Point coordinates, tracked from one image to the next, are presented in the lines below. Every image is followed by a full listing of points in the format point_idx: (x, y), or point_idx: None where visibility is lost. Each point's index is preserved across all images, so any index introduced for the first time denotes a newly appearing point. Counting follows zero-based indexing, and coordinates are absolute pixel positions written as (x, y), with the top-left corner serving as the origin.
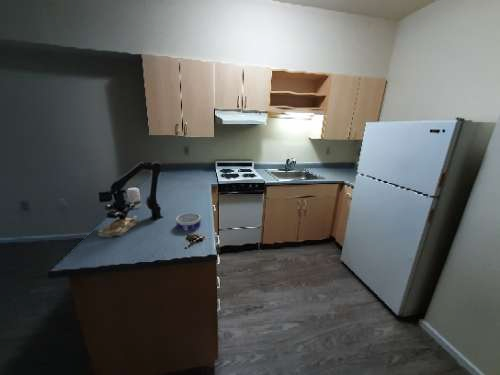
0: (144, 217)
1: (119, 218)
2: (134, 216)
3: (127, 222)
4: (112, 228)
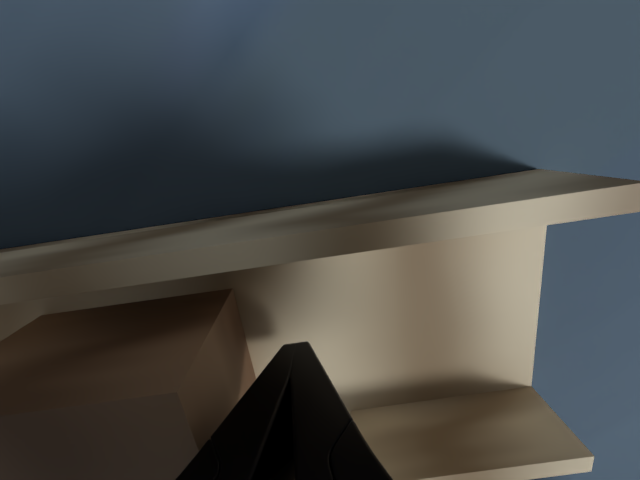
0: (606, 434)
1: (341, 241)
2: (531, 472)
3: (353, 364)
4: (34, 325)
